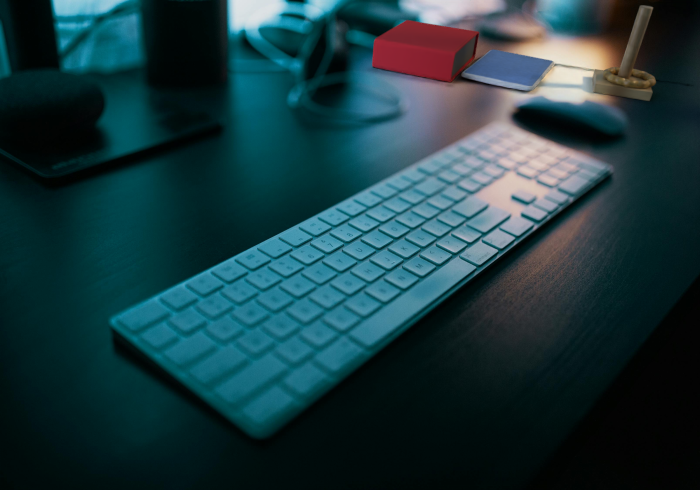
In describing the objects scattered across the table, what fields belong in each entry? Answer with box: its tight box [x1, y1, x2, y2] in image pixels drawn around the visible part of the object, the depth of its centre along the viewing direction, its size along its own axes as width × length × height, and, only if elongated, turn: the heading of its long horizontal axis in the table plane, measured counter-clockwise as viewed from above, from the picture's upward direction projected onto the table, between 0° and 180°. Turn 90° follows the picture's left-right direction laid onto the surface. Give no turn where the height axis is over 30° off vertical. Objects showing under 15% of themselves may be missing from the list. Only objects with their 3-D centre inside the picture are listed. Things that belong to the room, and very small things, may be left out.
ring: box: [603, 66, 657, 88], centre depth 100 cm, size 8×8×1 cm
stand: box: [592, 5, 654, 102], centre depth 98 cm, size 9×9×14 cm
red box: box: [371, 19, 480, 83], centre depth 106 cm, size 18×14×5 cm
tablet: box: [461, 49, 555, 92], centre depth 105 cm, size 19×13×1 cm, turn 153°
